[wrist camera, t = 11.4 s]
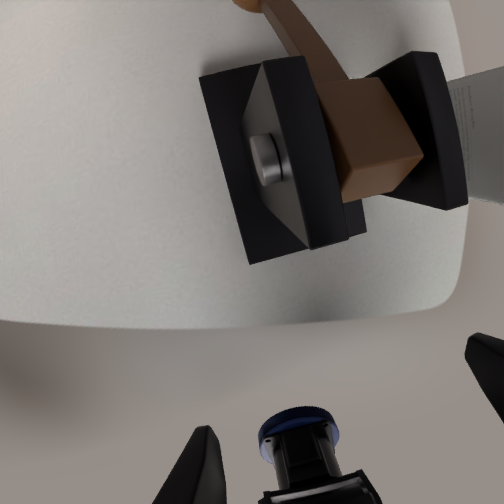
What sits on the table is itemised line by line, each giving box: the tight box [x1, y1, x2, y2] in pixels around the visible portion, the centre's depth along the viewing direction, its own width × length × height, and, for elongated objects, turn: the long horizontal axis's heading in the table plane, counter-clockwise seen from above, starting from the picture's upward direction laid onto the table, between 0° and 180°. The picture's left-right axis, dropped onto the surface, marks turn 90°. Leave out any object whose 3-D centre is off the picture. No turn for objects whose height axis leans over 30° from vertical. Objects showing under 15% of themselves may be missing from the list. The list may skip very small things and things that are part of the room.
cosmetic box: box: [447, 66, 504, 205], centre depth 13 cm, size 6×4×12 cm
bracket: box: [199, 51, 468, 265], centre depth 12 cm, size 12×8×13 cm, turn 15°
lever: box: [232, 0, 424, 203], centre depth 9 cm, size 13×3×3 cm, turn 14°
